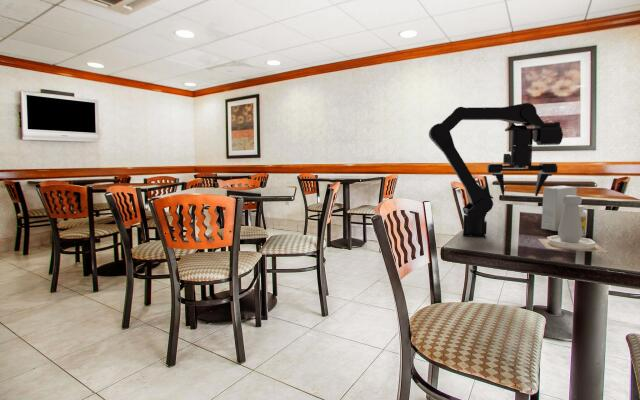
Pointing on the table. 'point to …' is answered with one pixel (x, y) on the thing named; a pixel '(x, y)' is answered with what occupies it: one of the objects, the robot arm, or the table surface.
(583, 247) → the dish
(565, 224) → the salt shaker
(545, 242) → the placemat
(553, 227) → the skincare box
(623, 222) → the table surface
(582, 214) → the supplement bottle
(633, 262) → the table surface
